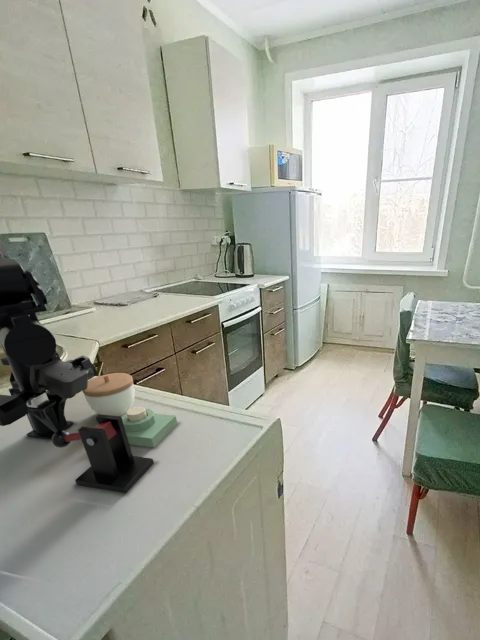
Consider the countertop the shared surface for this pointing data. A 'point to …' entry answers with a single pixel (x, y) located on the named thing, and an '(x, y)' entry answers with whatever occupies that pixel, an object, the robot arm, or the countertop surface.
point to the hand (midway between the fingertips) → (58, 431)
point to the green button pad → (148, 428)
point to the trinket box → (110, 394)
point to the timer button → (136, 414)
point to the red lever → (65, 437)
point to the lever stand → (111, 458)
